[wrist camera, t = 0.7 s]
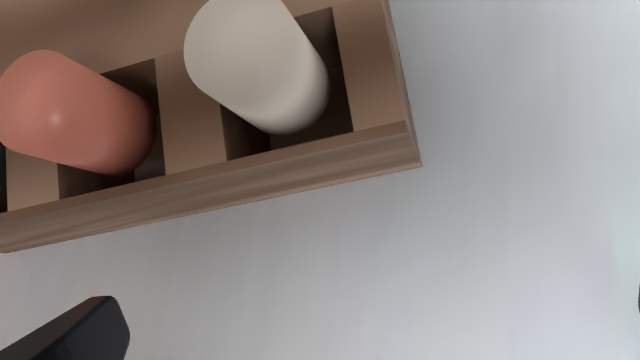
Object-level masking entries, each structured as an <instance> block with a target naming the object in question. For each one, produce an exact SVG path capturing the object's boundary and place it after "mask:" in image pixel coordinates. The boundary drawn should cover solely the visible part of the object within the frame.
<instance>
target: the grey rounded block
mask: <svg viewBox="0 0 640 360" xmlns="http://www.w3.org/2000/svg"><path fill="white" fill-rule="evenodd" d="M6 176H7V174H6V148H5V146H4V145H3V144H2V143H1V142H0V190H1V189H2V187H3V185H4V183H5V180H6Z"/></svg>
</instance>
